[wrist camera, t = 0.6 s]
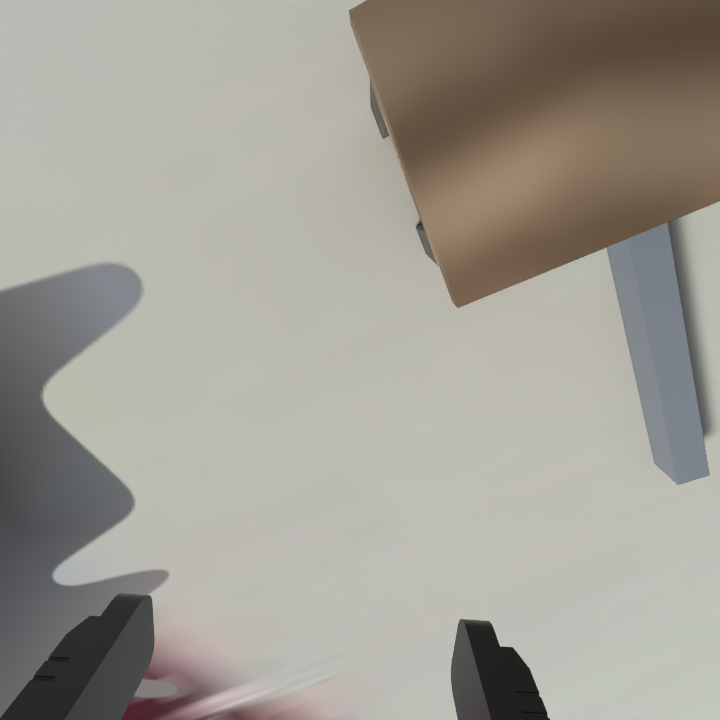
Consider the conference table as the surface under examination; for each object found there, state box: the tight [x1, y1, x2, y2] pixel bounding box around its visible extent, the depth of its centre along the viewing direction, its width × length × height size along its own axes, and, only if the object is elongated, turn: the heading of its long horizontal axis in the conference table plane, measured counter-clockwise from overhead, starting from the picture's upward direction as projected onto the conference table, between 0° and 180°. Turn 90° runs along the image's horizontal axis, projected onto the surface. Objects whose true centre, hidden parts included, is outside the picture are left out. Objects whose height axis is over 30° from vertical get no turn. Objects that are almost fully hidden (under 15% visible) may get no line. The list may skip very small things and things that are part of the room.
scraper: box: [607, 222, 710, 485], centre depth 30 cm, size 23×10×3 cm, turn 24°
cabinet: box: [349, 0, 720, 308], centre depth 19 cm, size 11×27×13 cm, turn 114°
